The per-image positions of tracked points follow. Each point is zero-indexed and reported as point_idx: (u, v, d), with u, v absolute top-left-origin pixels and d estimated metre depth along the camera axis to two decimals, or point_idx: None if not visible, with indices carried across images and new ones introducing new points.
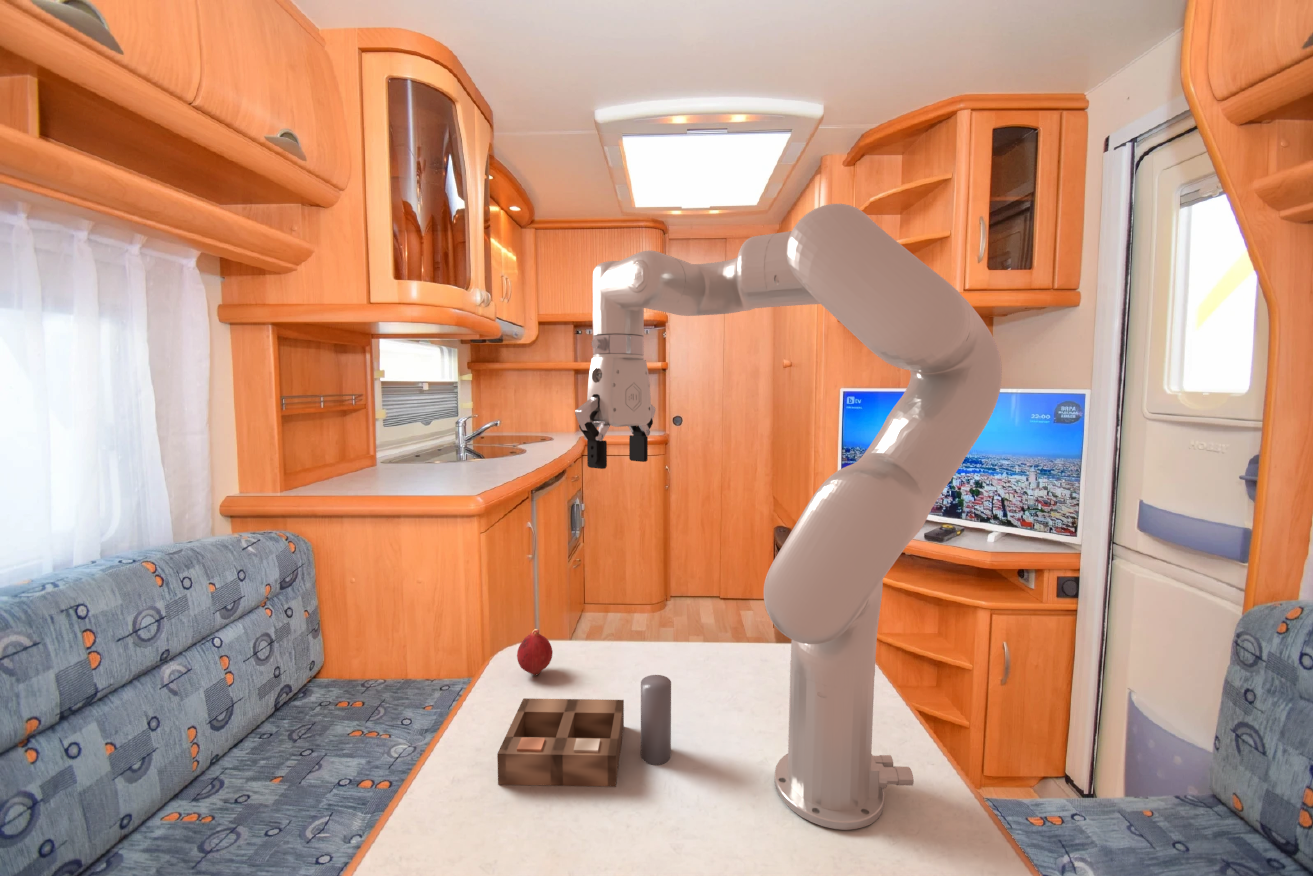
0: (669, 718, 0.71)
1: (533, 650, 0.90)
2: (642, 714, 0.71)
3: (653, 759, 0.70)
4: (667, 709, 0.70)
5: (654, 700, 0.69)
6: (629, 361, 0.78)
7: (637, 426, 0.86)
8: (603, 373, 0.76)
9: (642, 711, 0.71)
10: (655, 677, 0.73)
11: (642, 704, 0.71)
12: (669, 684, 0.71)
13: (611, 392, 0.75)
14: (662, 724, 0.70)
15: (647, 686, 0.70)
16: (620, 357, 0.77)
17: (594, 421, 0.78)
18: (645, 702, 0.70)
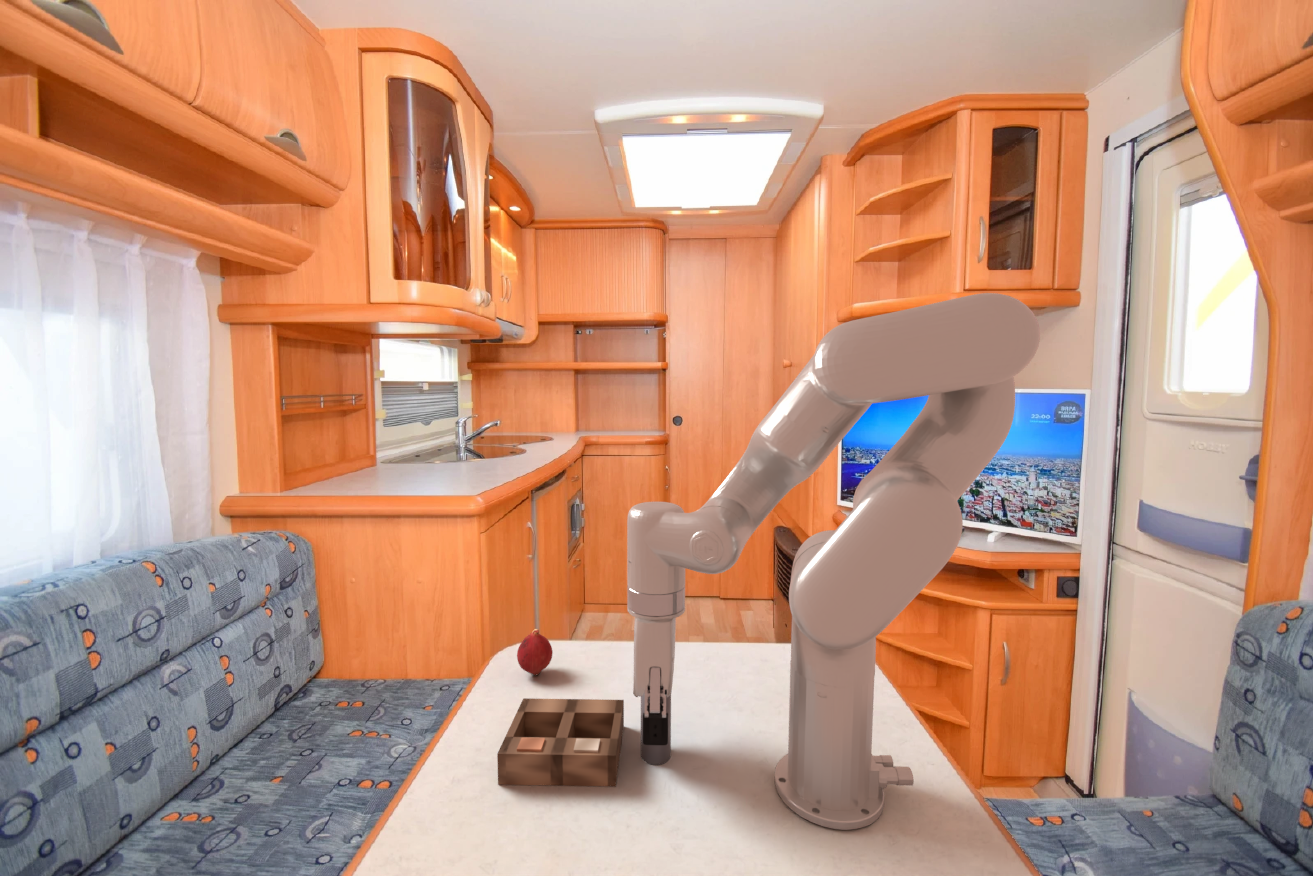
0: (669, 718, 0.71)
1: (533, 650, 0.90)
2: (642, 714, 0.71)
3: (653, 759, 0.70)
4: (667, 709, 0.70)
5: None
6: None
7: None
8: None
9: (642, 711, 0.71)
10: None
11: (642, 704, 0.71)
12: None
13: None
14: None
15: None
16: None
17: None
18: None
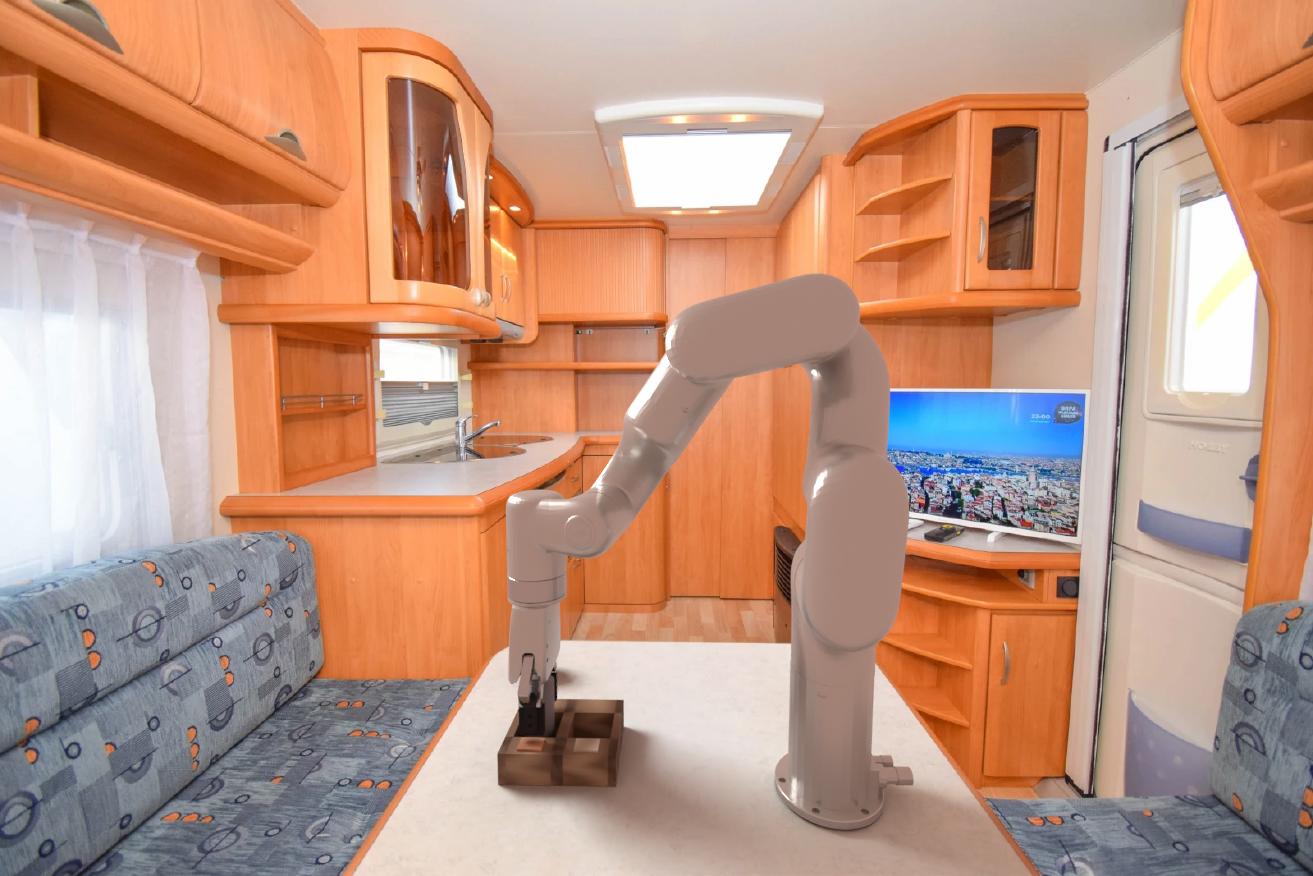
0: (551, 716, 0.71)
1: None
2: None
3: None
4: (548, 707, 0.70)
5: None
6: None
7: (535, 697, 0.67)
8: None
9: None
10: None
11: None
12: (551, 682, 0.71)
13: None
14: None
15: None
16: None
17: None
18: None
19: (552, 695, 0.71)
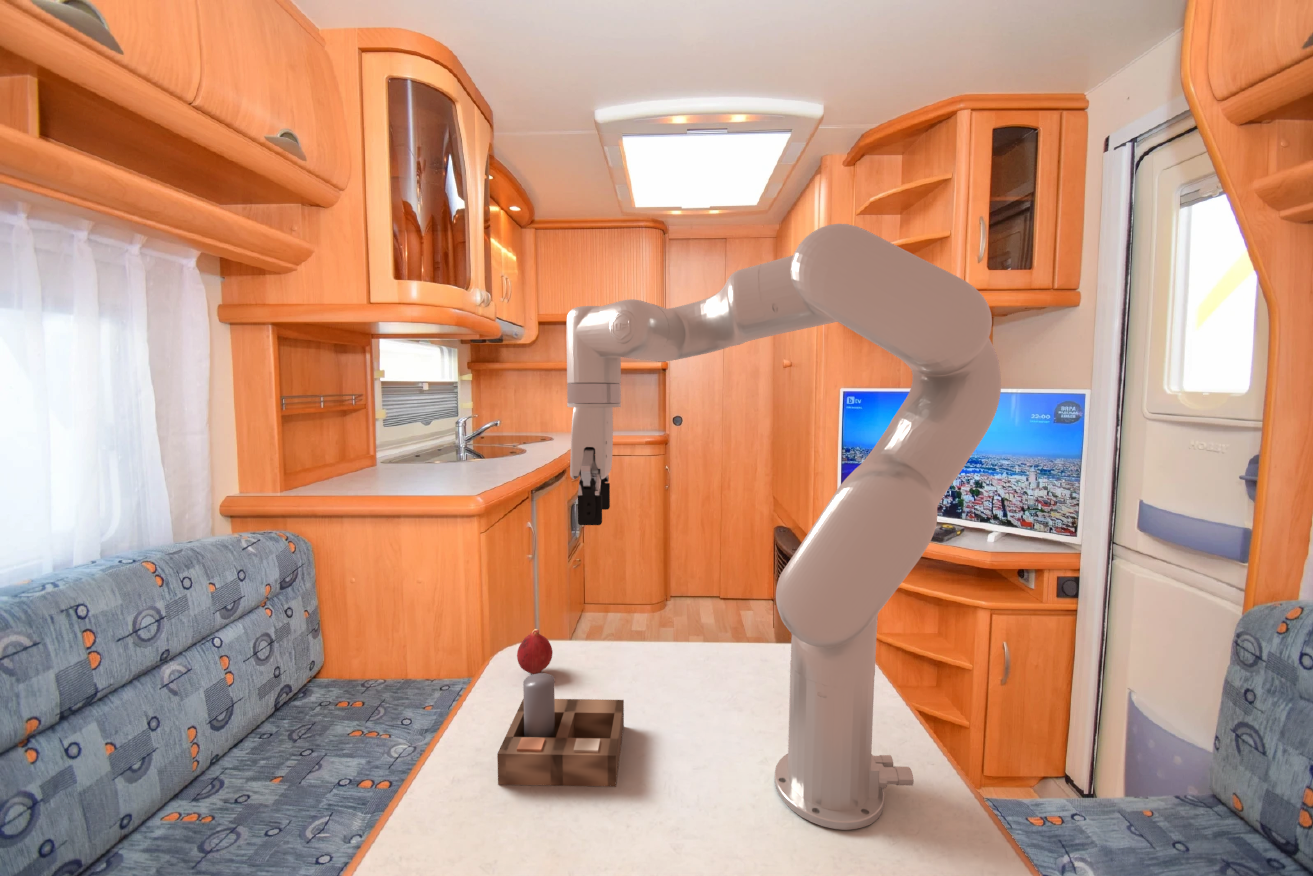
0: (551, 716, 0.71)
1: (533, 650, 0.90)
2: (524, 712, 0.71)
3: None
4: (548, 707, 0.70)
5: (533, 698, 0.70)
6: None
7: (594, 485, 0.72)
8: None
9: (524, 709, 0.71)
10: (541, 675, 0.73)
11: (524, 702, 0.71)
12: (551, 682, 0.71)
13: None
14: (542, 722, 0.70)
15: (528, 684, 0.71)
16: None
17: None
18: (526, 700, 0.70)
19: (552, 695, 0.71)
